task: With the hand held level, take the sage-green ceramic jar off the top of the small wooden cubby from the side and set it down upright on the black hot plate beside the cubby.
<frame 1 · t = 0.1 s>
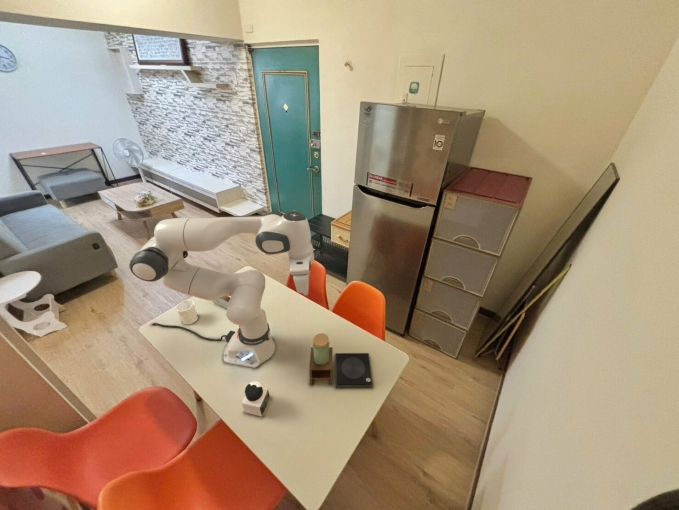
hand: (306, 285, 101), 39 cm above the table, tool pointing down, fingers open, 8 cm apart
hot plate: (352, 371, 114), on the table
jar: (321, 357, 107), point 11 cm above the table, touching wooden cubby
wooden cubby: (321, 373, 113), on the table
white cup: (190, 319, 135), on the table
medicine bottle: (257, 405, 101), on the table
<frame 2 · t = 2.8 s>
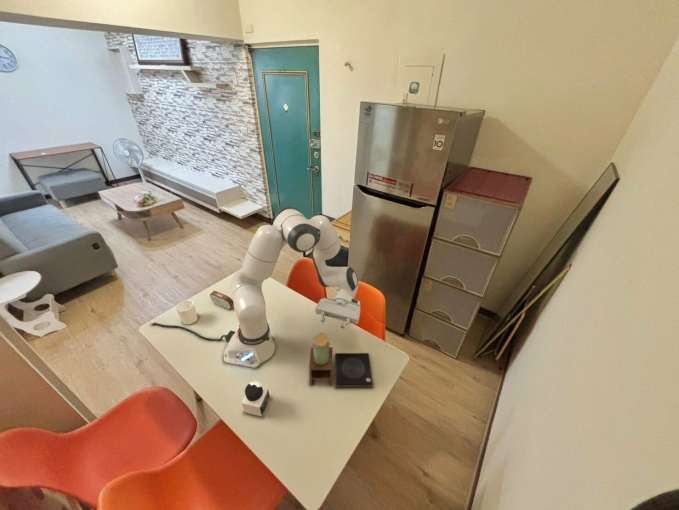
hand: (332, 324, 112), 18 cm above the table, tool horizontal, fingers open, 8 cm apart
nothing on the table moved.
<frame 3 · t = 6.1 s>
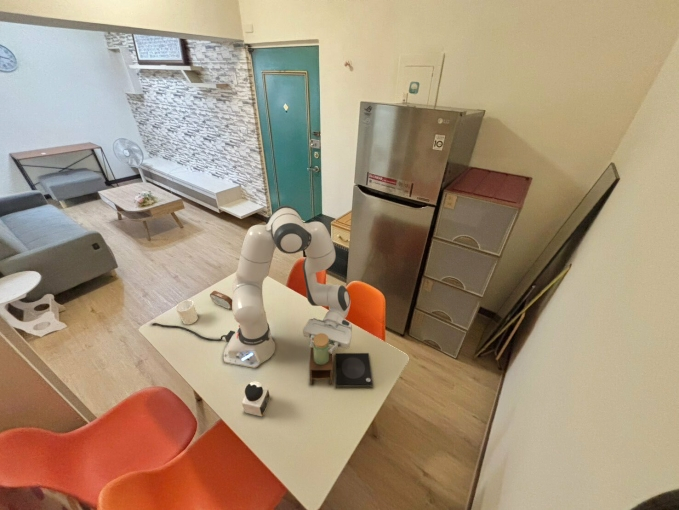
hand: (320, 349, 102), 17 cm above the table, tool horizontal, fingers closed on jar, 6 cm apart
jar: (321, 357, 107), point 11 cm above the table, touching gripper, wooden cubby
everything else where it was.
when the fingers open (9 cm above the table, at t = 14.8 s): jar stays where it is, resting on hot plate.
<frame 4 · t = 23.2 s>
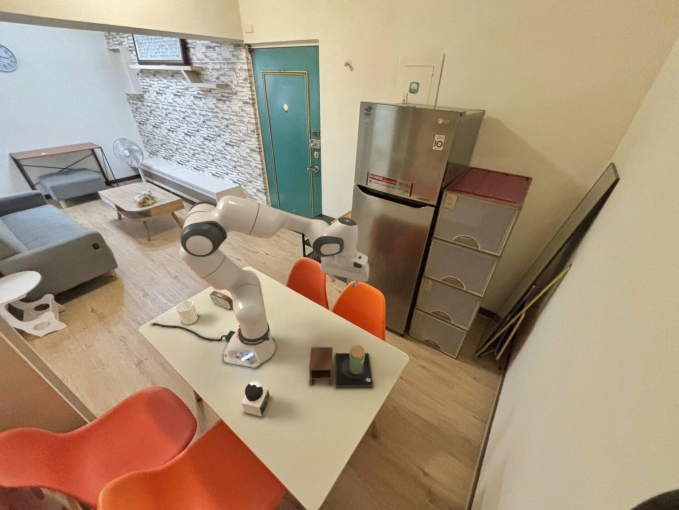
hand: (343, 283, 111), 33 cm above the table, tool pointing down, fingers open, 8 cm apart
jar: (355, 367, 113), point 2 cm above the table, touching hot plate
everything else where it was.
at the end: jar inside the target area on the hot plate (1.1 cm from its centre), point 2.5 cm above the hot plate's base; jar tilted 0°; the gripper is holding nothing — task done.
